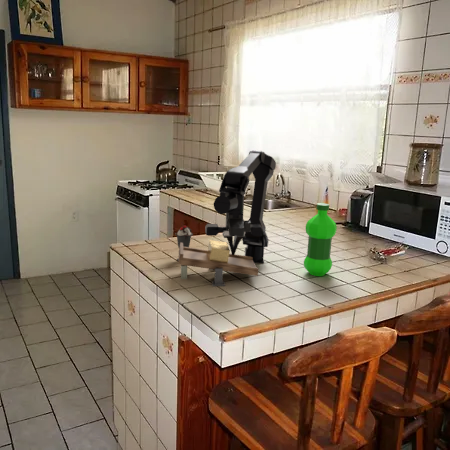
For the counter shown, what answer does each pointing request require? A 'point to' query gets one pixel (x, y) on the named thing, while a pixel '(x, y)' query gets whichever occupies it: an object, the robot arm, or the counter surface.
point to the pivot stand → (218, 271)
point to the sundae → (184, 236)
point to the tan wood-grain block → (218, 251)
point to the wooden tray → (201, 260)
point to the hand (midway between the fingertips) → (233, 254)
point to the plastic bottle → (319, 242)
